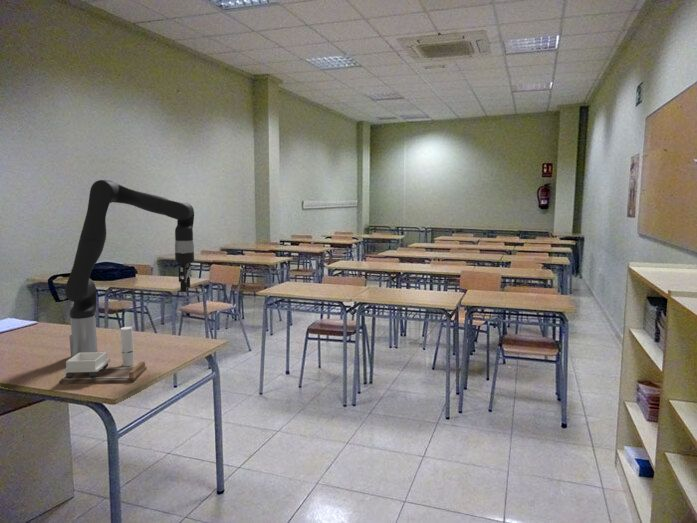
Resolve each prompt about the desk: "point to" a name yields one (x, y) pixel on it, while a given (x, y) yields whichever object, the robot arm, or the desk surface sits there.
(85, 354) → the white open tray
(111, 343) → the desk surface
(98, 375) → the track
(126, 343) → the tube
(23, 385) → the desk surface
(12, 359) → the desk surface
